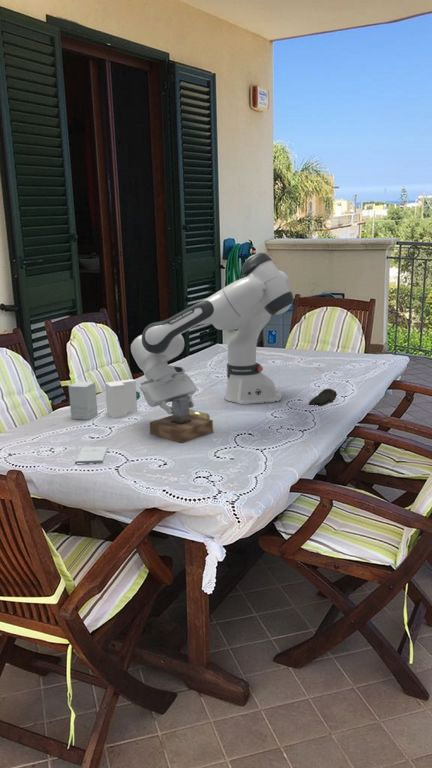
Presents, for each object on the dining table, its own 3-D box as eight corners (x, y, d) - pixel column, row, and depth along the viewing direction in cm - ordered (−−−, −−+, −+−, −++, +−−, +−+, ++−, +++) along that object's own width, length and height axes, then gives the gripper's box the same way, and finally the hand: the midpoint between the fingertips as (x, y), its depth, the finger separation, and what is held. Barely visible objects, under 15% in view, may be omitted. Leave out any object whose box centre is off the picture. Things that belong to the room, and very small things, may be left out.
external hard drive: (75, 466, 195) (82, 451, 207) (102, 465, 195) (108, 450, 207) (74, 461, 195) (81, 446, 207) (102, 460, 195) (107, 445, 207)
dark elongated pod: (326, 408, 246) (326, 400, 246) (307, 406, 250) (307, 398, 249) (343, 394, 265) (343, 387, 265) (325, 392, 269) (325, 385, 268)
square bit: (181, 429, 224) (180, 396, 221) (190, 432, 222) (188, 398, 219) (173, 432, 221) (171, 398, 219) (181, 435, 219) (180, 400, 216)
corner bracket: (113, 418, 240) (110, 386, 237) (103, 410, 250) (101, 380, 247) (140, 413, 244) (138, 382, 242) (129, 406, 254) (128, 376, 251)
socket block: (182, 423, 232) (181, 412, 231) (212, 431, 222) (212, 420, 221) (150, 433, 221) (149, 422, 220) (180, 442, 211) (180, 431, 210)
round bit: (180, 419, 235) (182, 408, 235) (188, 419, 238) (190, 408, 238) (200, 424, 228) (202, 413, 228) (208, 424, 231) (210, 413, 231)
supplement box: (98, 414, 244) (96, 381, 241) (88, 420, 238) (85, 386, 235) (81, 413, 247) (78, 380, 244) (70, 419, 240) (67, 385, 237)
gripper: (141, 377, 214) (163, 411, 210) (186, 366, 228) (207, 398, 224) (133, 388, 218) (154, 422, 214) (178, 377, 232) (198, 408, 228)
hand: (182, 409), depth 219 cm, fingers open, 8 cm apart
